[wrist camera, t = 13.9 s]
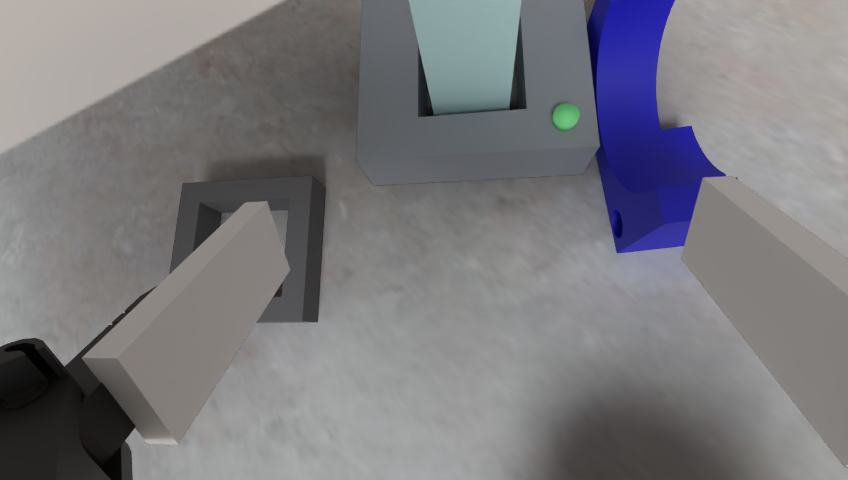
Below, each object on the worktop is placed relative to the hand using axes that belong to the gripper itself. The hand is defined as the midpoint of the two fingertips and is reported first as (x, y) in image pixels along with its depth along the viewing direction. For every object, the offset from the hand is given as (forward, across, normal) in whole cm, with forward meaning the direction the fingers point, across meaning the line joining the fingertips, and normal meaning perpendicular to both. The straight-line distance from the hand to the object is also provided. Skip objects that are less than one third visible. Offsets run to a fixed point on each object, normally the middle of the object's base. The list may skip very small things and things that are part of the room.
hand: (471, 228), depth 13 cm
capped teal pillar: (+14, 0, 0) cm, 14 cm away
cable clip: (+12, +9, -2) cm, 15 cm away
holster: (+8, -13, -6) cm, 16 cm away
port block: (+14, 0, 0) cm, 14 cm away
